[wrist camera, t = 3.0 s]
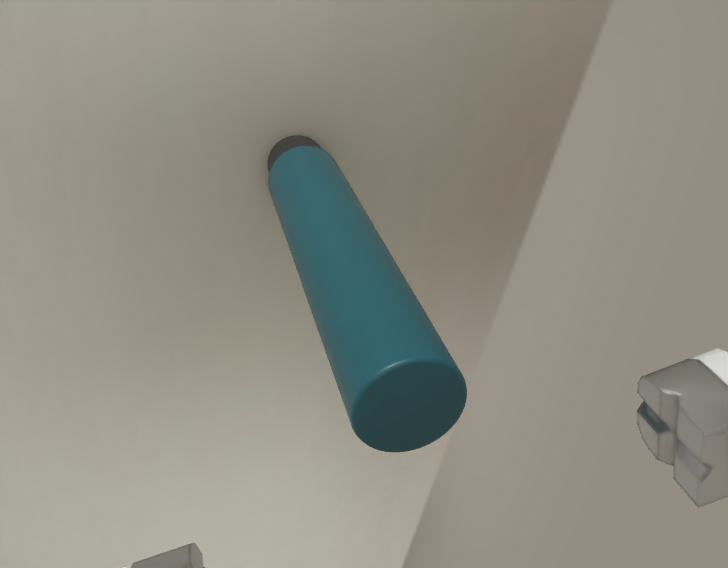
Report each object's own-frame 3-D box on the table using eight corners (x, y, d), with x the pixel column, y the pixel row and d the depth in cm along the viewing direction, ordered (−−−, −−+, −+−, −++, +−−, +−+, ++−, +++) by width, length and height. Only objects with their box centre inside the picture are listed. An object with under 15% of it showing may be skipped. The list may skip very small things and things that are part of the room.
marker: (320, 120, 24) (460, 343, 13) (336, 182, 25) (475, 429, 14) (253, 141, 23) (339, 385, 13) (272, 202, 25) (365, 469, 14)
